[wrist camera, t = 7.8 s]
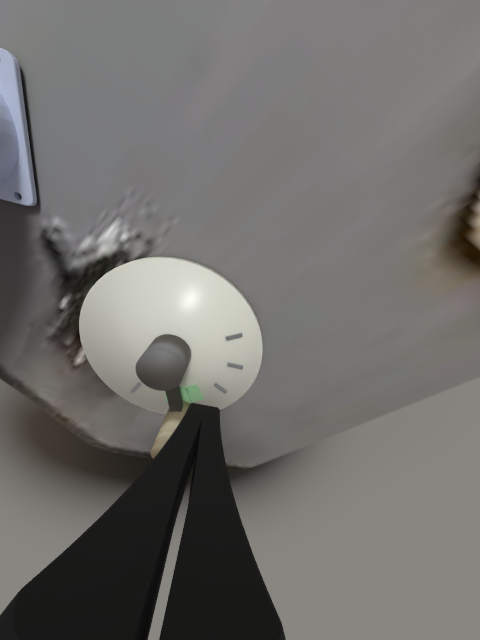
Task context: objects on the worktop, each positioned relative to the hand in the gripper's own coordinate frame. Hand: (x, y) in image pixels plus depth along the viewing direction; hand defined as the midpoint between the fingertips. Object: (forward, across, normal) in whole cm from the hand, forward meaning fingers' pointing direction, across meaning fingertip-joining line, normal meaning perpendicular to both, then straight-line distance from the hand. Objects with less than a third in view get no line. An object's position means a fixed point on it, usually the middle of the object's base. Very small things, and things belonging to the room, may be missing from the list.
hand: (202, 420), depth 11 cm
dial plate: (+10, +4, +3) cm, 11 cm away
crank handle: (+9, +3, +6) cm, 11 cm away
